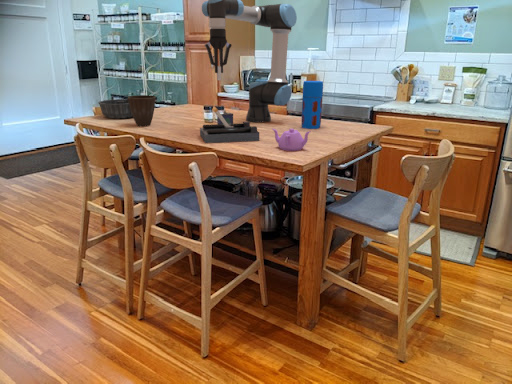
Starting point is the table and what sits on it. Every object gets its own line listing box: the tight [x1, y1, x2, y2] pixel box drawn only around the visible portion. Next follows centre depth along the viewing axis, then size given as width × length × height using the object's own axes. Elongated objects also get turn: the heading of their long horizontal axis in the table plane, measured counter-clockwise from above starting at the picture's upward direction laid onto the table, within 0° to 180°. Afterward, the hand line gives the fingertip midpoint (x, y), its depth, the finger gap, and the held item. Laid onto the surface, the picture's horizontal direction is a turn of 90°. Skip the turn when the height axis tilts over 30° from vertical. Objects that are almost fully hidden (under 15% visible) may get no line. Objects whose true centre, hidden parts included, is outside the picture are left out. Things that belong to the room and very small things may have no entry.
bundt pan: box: [97, 98, 133, 120], centre depth 259 cm, size 26×26×10 cm
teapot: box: [272, 128, 311, 152], centre depth 182 cm, size 12×14×9 cm
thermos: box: [301, 80, 324, 130], centre depth 229 cm, size 11×11×25 cm
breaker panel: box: [199, 121, 260, 144], centre depth 202 cm, size 26×18×6 cm
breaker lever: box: [211, 106, 229, 128], centre depth 199 cm, size 2×5×13 cm
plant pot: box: [127, 94, 157, 127], centre depth 231 cm, size 15×15×16 cm
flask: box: [216, 109, 234, 124], centre depth 220 cm, size 9×3×11 cm, turn 121°
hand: (219, 80), depth 202 cm, fingers closed
